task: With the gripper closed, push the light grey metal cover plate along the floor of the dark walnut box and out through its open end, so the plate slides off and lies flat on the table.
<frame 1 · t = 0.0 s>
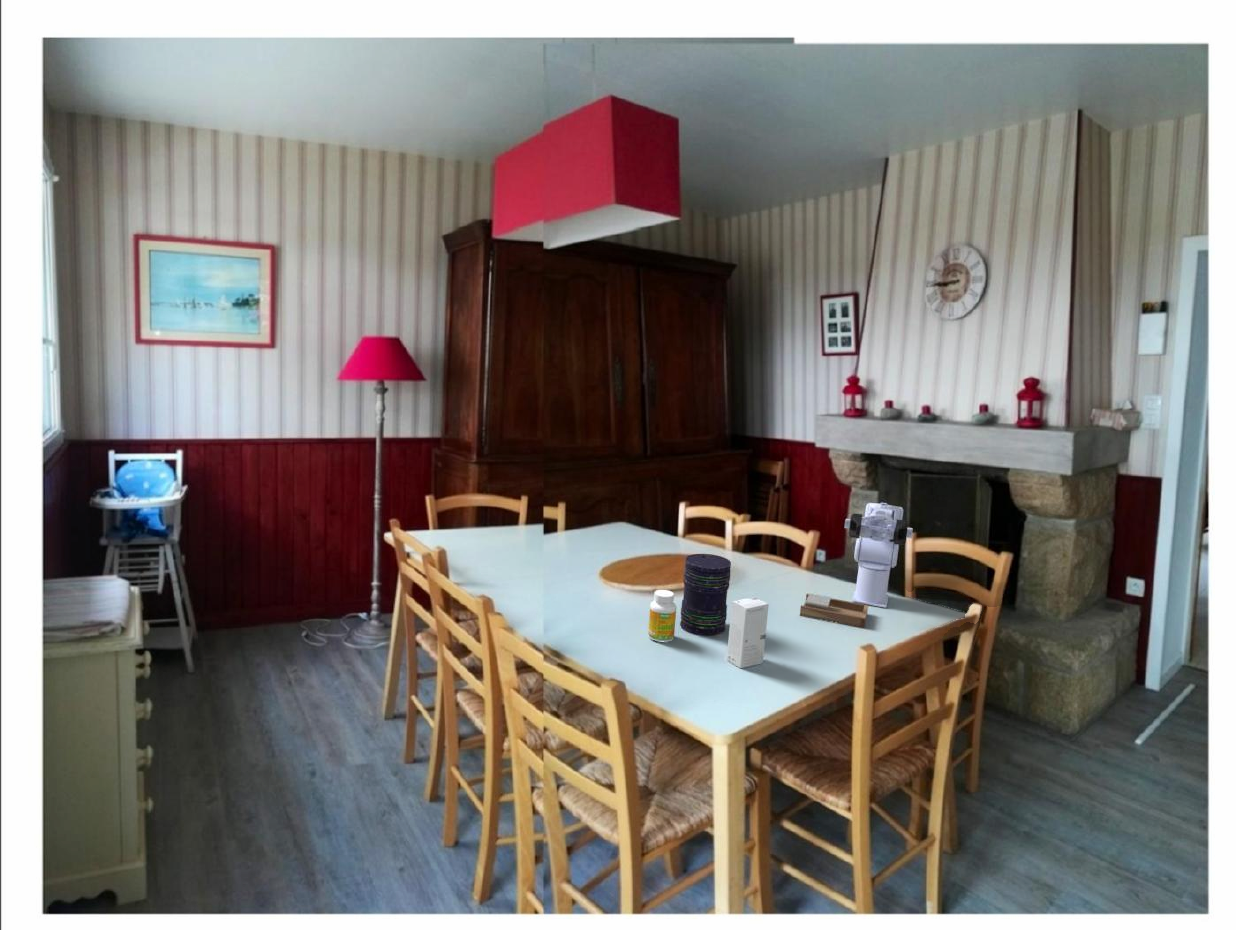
hand: (876, 533, 157), 22 cm above the table, tool horizontal, fingers open, 7 cm apart
dark blue cylinder: (702, 627, 156), on the table
supplement bottle: (660, 638, 149), on the table
wooden box: (833, 614, 167), on the table
cover plate: (817, 609, 169), resting on wooden box
skincare box: (744, 662, 140), on the table
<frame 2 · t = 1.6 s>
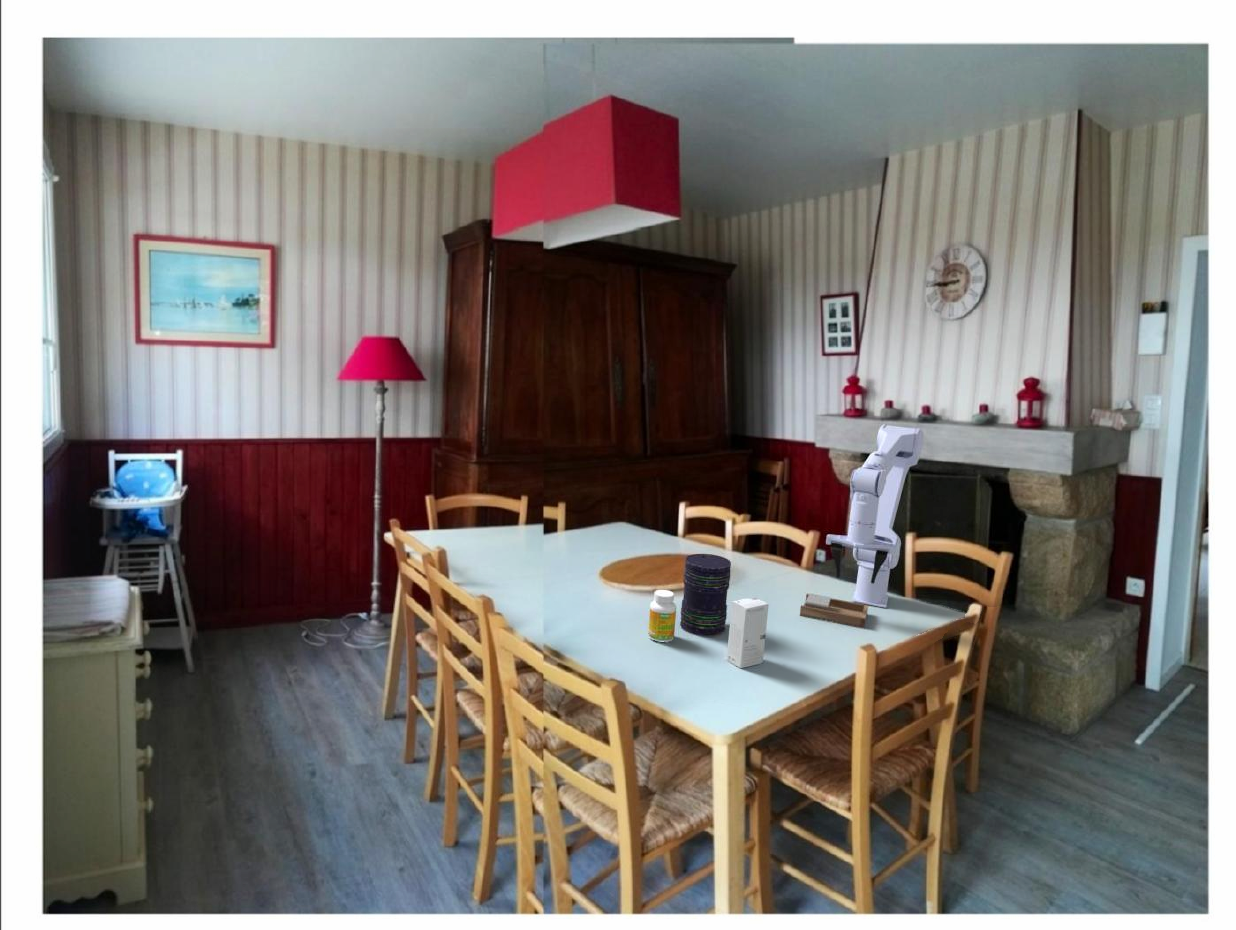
hand: (855, 579, 164), 9 cm above the table, tool pointing down, fingers open, 7 cm apart
nothing on the table moved.
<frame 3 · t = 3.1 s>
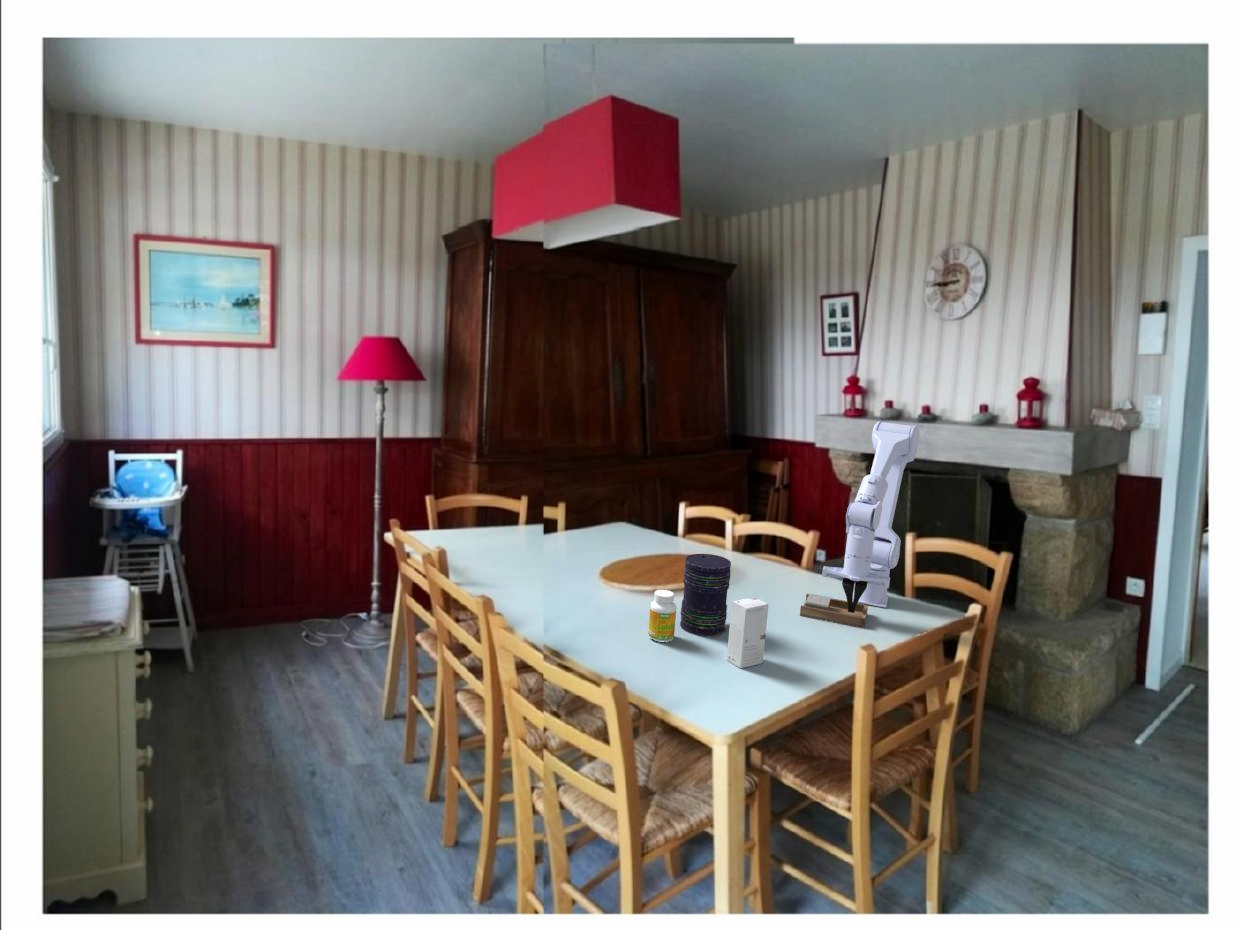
hand: (851, 611, 166), 2 cm above the table, tool pointing down, fingers closed
nothing on the table moved.
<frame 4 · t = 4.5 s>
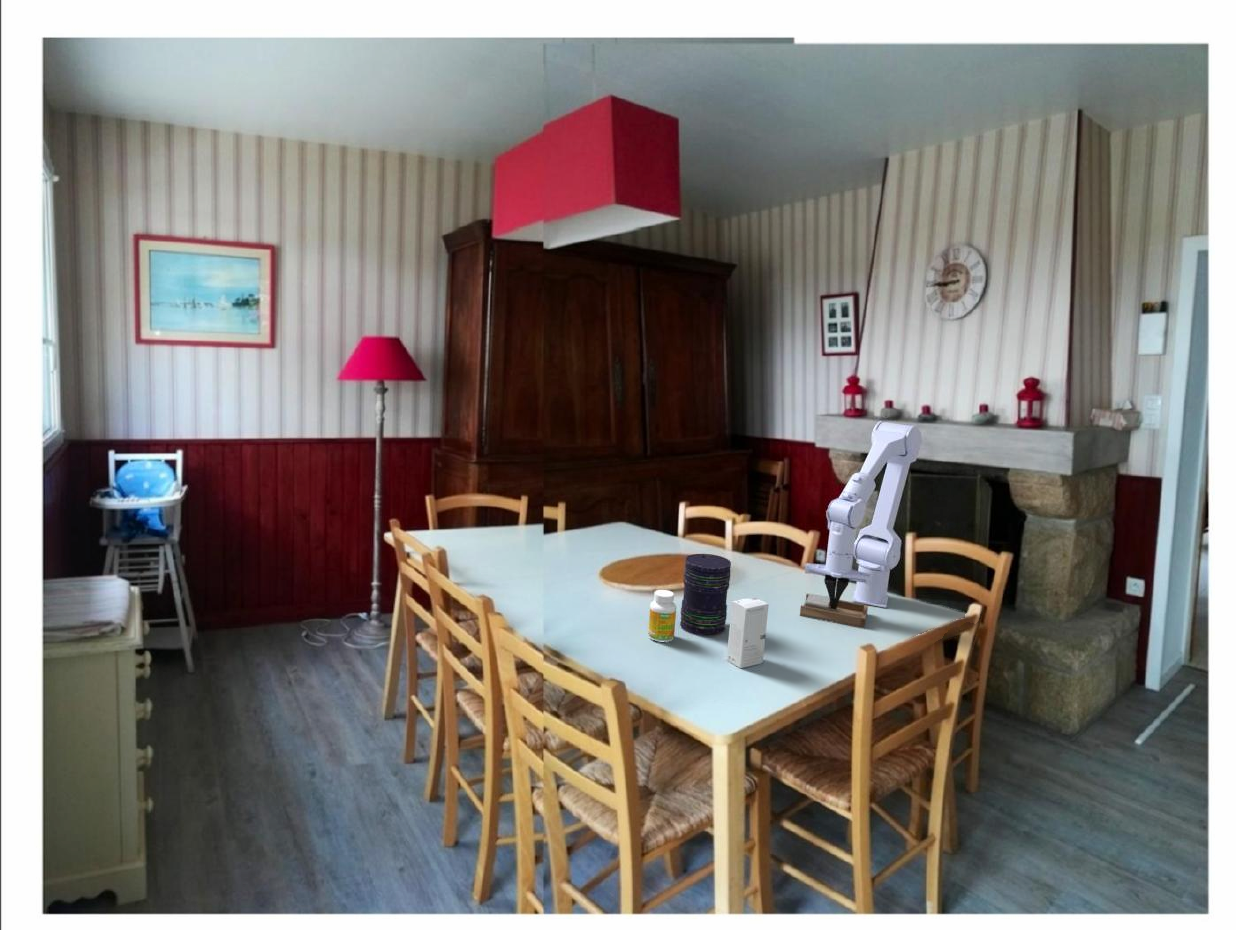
hand: (833, 607, 167), 2 cm above the table, tool pointing down, fingers closed
cover plate: (817, 609, 169), resting on wooden box, touching gripper
everything else where it was.
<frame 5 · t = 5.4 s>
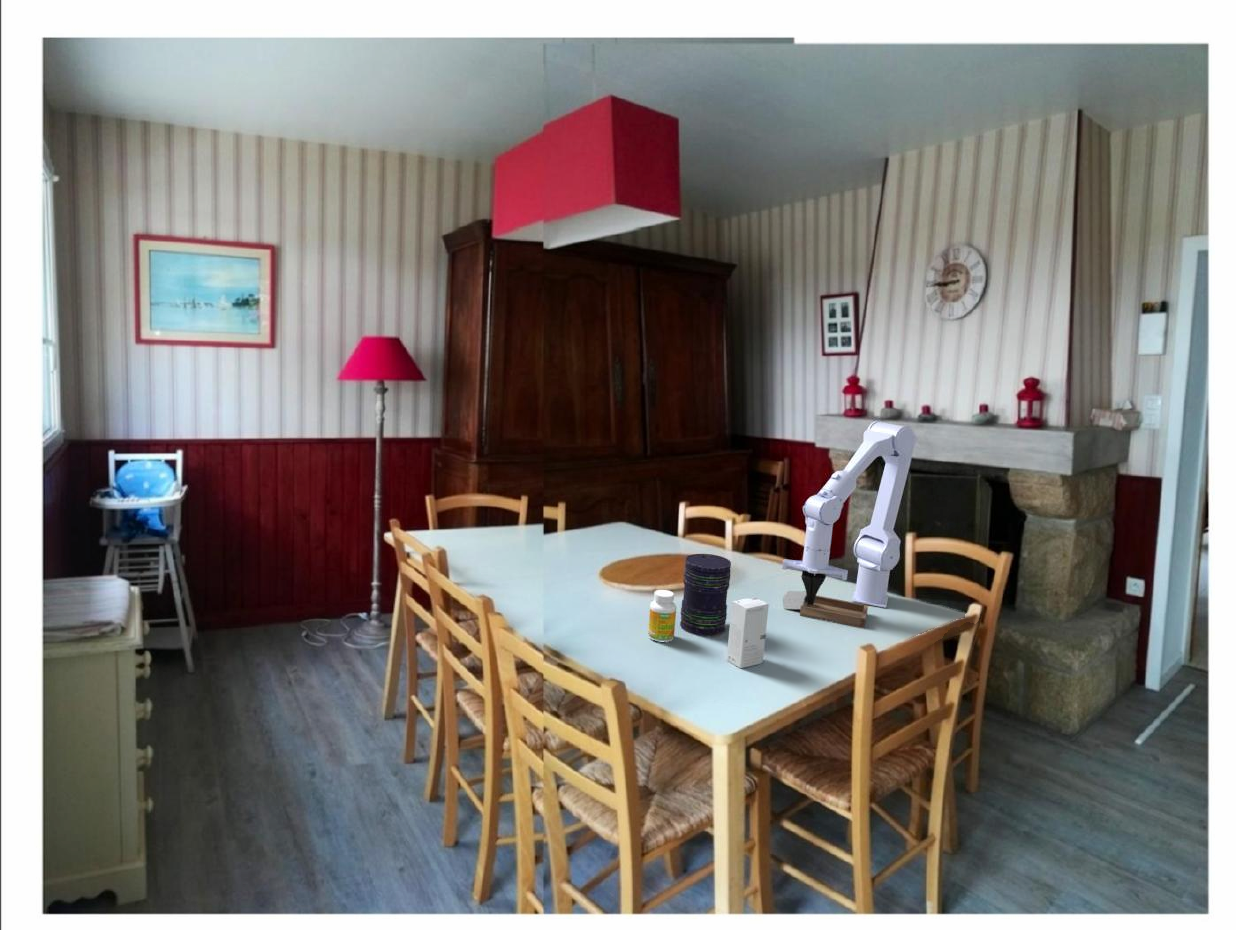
hand: (810, 603, 169), 2 cm above the table, tool pointing down, fingers closed
cover plate: (796, 605, 171), point 1 cm above the table, tilted 12°, touching gripper
everything else where it was.
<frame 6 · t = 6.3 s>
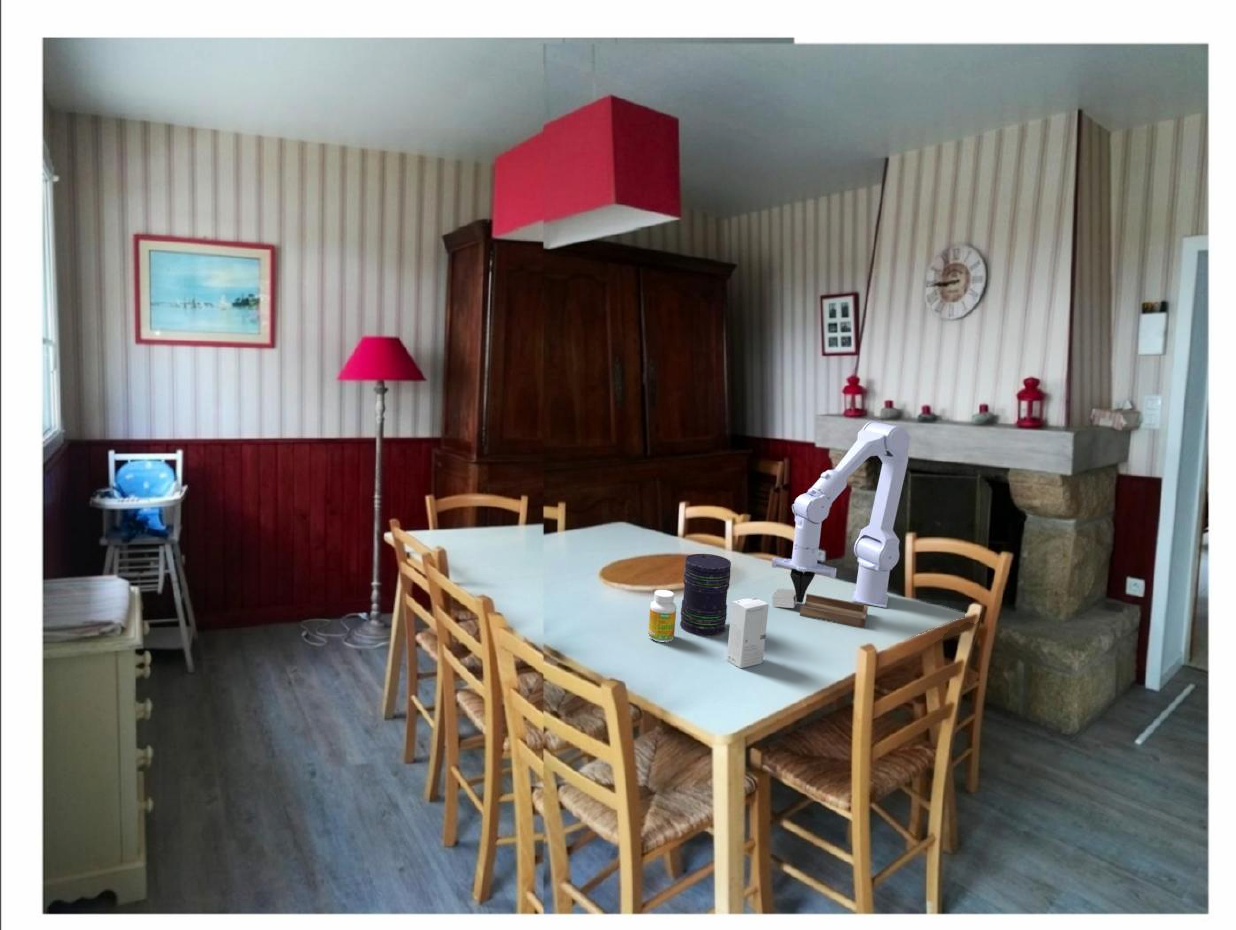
hand: (799, 601, 170), 2 cm above the table, tool pointing down, fingers closed
cover plate: (785, 603, 172), on the table, tilted 9°, touching gripper
everything else where it was.
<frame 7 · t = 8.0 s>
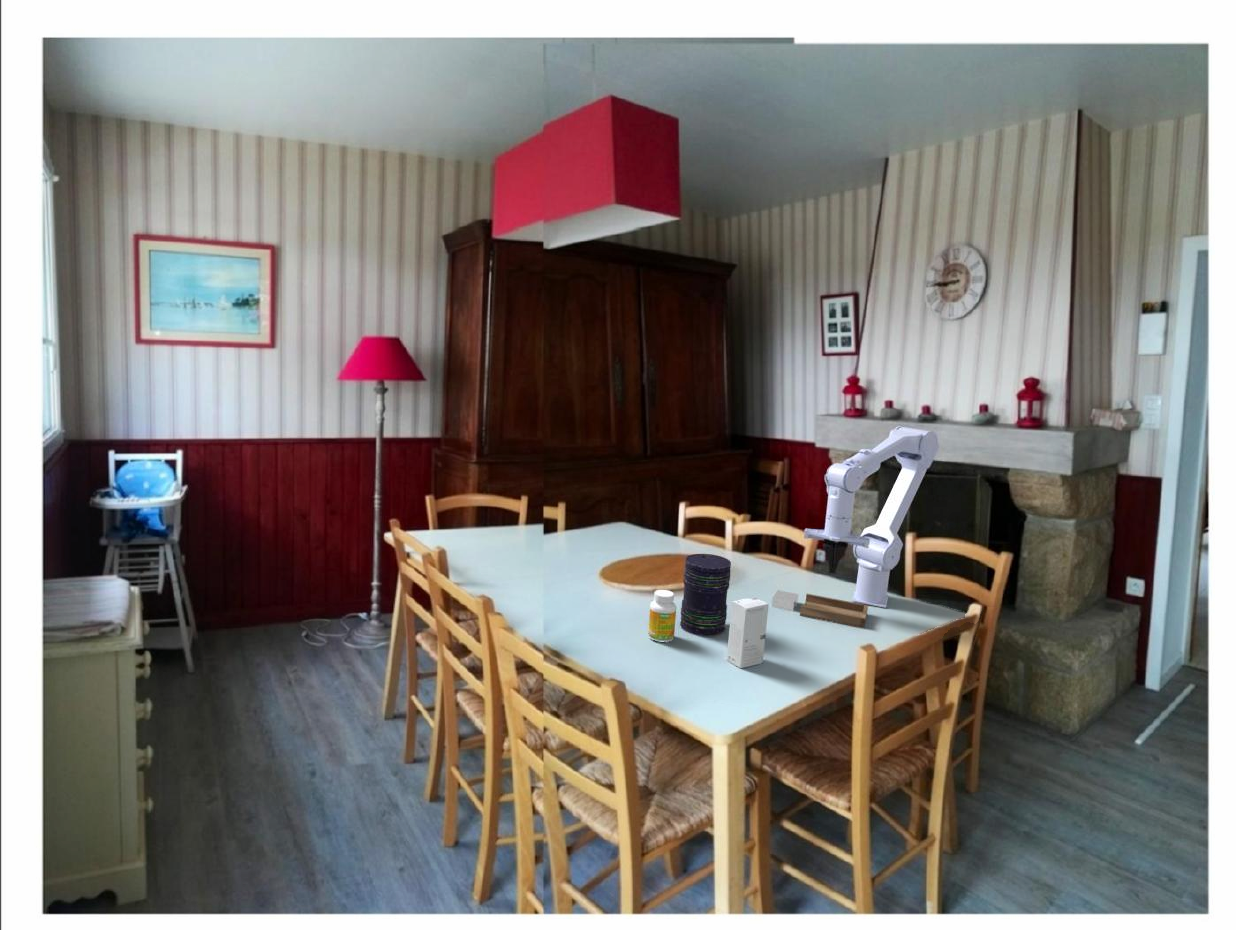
hand: (832, 572, 169), 9 cm above the table, tool pointing down, fingers closed
cover plate: (784, 605, 172), on the table
everything else where it was.
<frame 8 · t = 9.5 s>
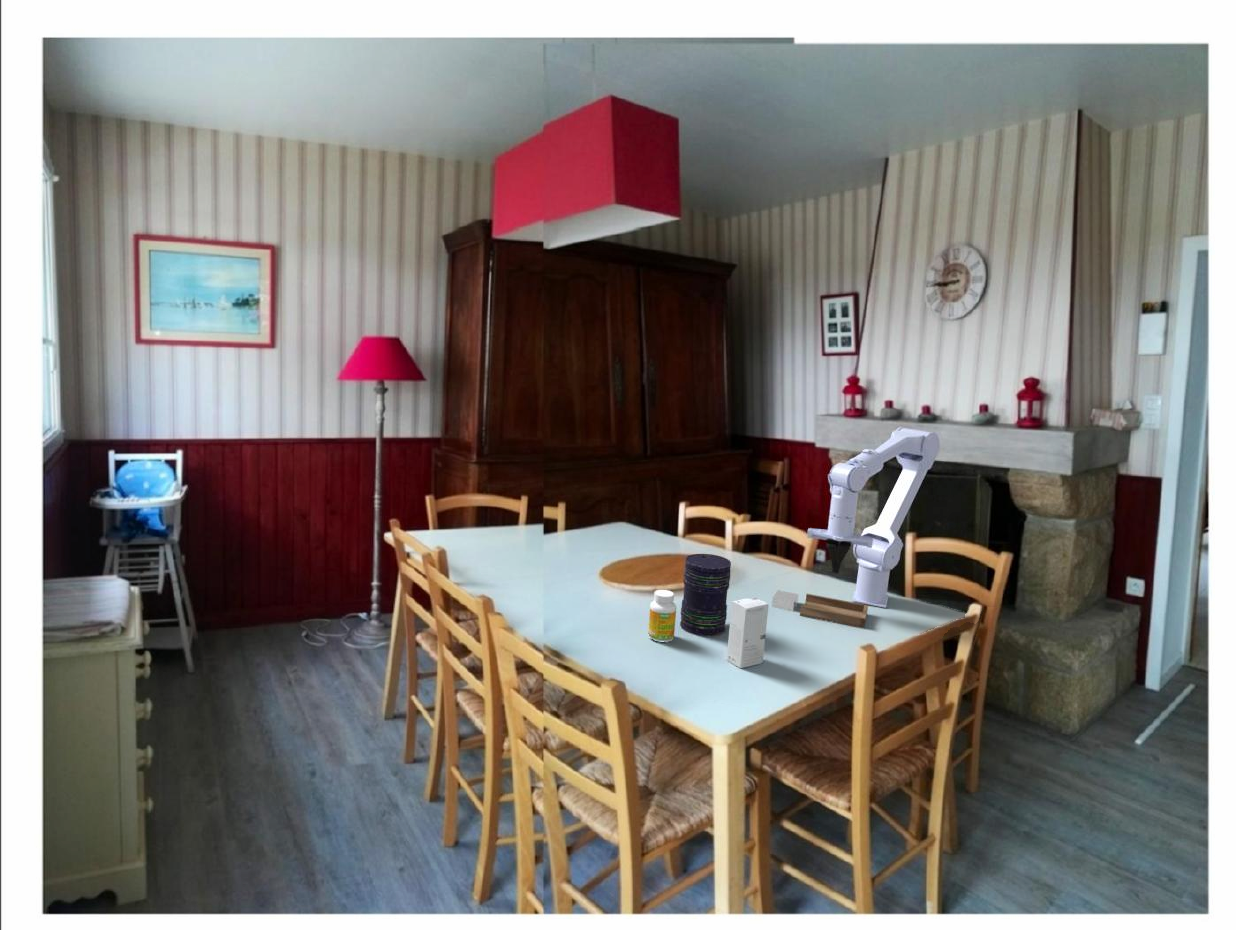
hand: (835, 571, 169), 9 cm above the table, tool pointing down, fingers closed
nothing on the table moved.
at the end: cover plate inside the target area (3.0 cm from its centre), on the table; cover plate tilted 0°; cover plate touching table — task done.
